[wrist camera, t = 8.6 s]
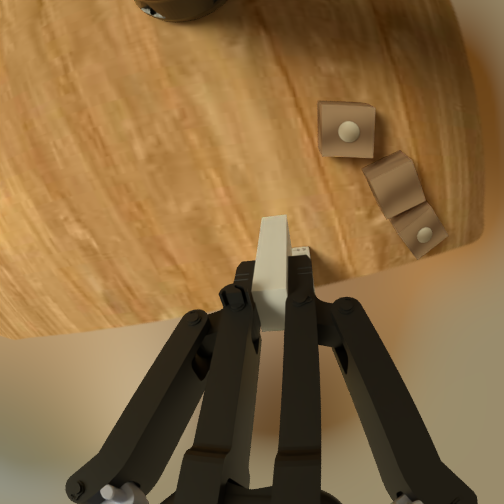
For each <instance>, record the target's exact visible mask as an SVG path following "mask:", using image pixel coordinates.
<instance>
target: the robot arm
mask: <svg viewBox="0 0 504 504" xmlns="http://www.w3.org/2000/svg"><path fill="white" fill-rule="evenodd" d="M134 1H135V3H136V4H137V6H138V7H139V8H140V9H141V10H142V11H144V12H145V13H146V14H148V15H150V16H152V17H154V18H158V19H161V20H164V21H169V22H185V21H191V20H195V19H198V18H201V17H203V16H206V15H208V14H210V13H212V12H213V11H215V10H216V9H218V8H219V7H221V6H222V5H223V4H224V3H225V2H226V1H227V0H134ZM235 275H236V276H235V279H234V283H233V284H229V285H227V286H225V287H224V288H223V289H221V291H220V292H219V296H220V299H221V302H222V304H223V309H221V310H220V311H217V312H214V313H211V314H208V315H207V313H206V312H205V311H203V310H192V311H189V312H188V313H186V314H185V315H184V316H183V317H182V319H181V320H180V322H179V324H178V325H177V327H176V328H175V330H174V331H173V333H172V334H171V336H170V338H169V339H168V341H167V342H166V344H165V345H164V347H163V349H162V350H161V352H160V353H159V355H158V357H157V358H156V360H155V361H154V363H153V365H152V366H151V368H150V369H149V371H148V372H147V374H146V376H145V377H144V379H143V380H142V382H141V384H140V385H139V387H138V389H137V390H136V392H135V393H134V395H133V397H132V398H131V400H130V402H129V403H128V405H127V406H126V408H125V410H124V411H123V413H122V415H121V417H120V418H119V420H118V421H117V423H116V425H115V426H114V428H113V430H112V431H111V433H110V435H109V436H108V438H107V440H106V441H105V443H104V445H103V446H102V448H101V450H100V451H99V453H98V454H97V455H96V456H94V457H93V458H92V459H91V460H90V461H89V462H87V463H86V464H85V465H84V466H83V467H81V468H80V469H79V470H78V471H77V472H75V473H74V474H73V475H72V476H70V478H69V479H68V480H67V483H66V493H67V495H68V497H69V499H70V500H71V501H73V502H75V503H77V504H149V502H148V500H147V499H146V495H147V494H148V493H149V492H150V491H151V490H152V488H153V487H154V486H155V484H156V483H157V481H158V480H159V478H160V476H161V475H162V473H163V471H164V469H165V467H166V465H167V463H168V461H169V460H170V458H171V456H172V454H173V452H174V450H175V448H176V446H177V444H178V442H179V440H180V438H181V436H182V434H183V432H184V430H185V428H186V426H187V424H188V422H189V420H190V418H191V416H192V415H193V413H194V410H195V408H196V406H197V404H198V403H199V401H200V399H201V397H202V394H203V392H204V391H205V392H204V396H203V401H202V406H201V410H200V415H199V419H198V424H197V429H196V434H195V438H194V443H193V446H192V447H191V448H190V449H188V450H187V451H186V453H185V454H184V457H183V460H182V465H181V470H180V474H179V479H178V484H177V489H176V491H175V492H174V493H173V494H171V495H170V496H169V497H168V498H166V499H165V500H164V501H163V502H161V503H160V504H342V503H341V502H340V501H339V500H338V499H337V498H335V497H334V496H333V495H331V494H329V493H327V492H325V491H323V490H321V400H320V399H321V398H320V372H319V352H318V345H323V346H329V347H332V350H333V352H334V355H335V357H336V360H337V362H338V365H339V367H340V370H341V372H342V375H343V377H344V379H345V382H346V385H347V387H348V390H349V392H350V395H351V397H352V400H353V402H354V405H355V408H356V410H357V413H358V415H359V418H360V421H361V423H362V426H363V428H364V431H365V434H366V437H367V439H368V442H369V445H370V447H371V450H372V453H373V456H374V459H375V461H376V464H377V467H378V470H379V473H380V476H381V478H382V481H383V483H384V486H385V488H386V490H387V492H388V494H389V495H390V497H391V498H392V500H393V502H392V503H391V504H478V503H477V496H476V495H475V493H474V491H472V490H471V489H470V488H469V487H468V486H467V485H466V484H465V483H464V482H463V481H462V480H461V479H460V478H458V477H457V476H456V475H455V474H454V473H453V472H452V471H451V470H450V469H449V468H448V467H447V466H446V465H445V464H444V463H443V462H441V460H440V458H439V456H438V453H437V451H436V448H435V446H434V444H433V442H432V440H431V437H430V435H429V433H428V431H427V429H426V427H425V424H424V422H423V420H422V418H421V416H420V414H419V412H418V410H417V408H416V405H415V404H414V402H413V399H412V397H411V395H410V393H409V391H408V389H407V387H406V386H405V384H404V382H403V380H402V378H401V376H400V374H399V372H398V370H397V368H396V367H395V364H394V362H393V361H392V359H391V357H390V355H389V353H388V351H387V350H386V348H385V346H384V344H383V342H382V340H381V339H380V337H379V335H378V333H377V331H376V330H375V328H374V326H373V324H372V323H371V321H370V319H369V317H368V316H367V314H366V312H365V310H364V309H363V307H362V305H361V304H360V302H358V300H356V299H354V298H351V297H343V298H339V299H338V300H336V301H335V302H334V303H327V302H323V301H321V300H319V299H318V298H317V297H316V295H315V293H314V284H313V274H312V264H311V259H310V258H309V257H308V255H307V254H305V255H296V256H292V248H291V241H290V235H289V228H288V222H287V216H286V215H278V216H270V217H262V221H261V228H260V235H259V242H258V248H257V255H256V260H254V261H244V262H241V263H240V265H239V266H238V267H237V270H236V274H235ZM260 327H261V329H262V332H265V331H281V330H284V356H283V357H284V358H283V380H282V398H281V415H280V431H279V446H278V453H277V455H276V458H275V464H274V475H273V486H270V487H265V488H259V489H252V490H251V489H249V483H250V474H249V468H248V467H249V456H250V448H251V447H250V446H251V439H252V430H253V421H254V411H255V402H256V392H257V382H258V372H259V362H260V351H261V341H262V340H261V335H260Z"/></svg>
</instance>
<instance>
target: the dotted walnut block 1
mask: <svg viewBox="0 0 504 504" xmlns="http://www.w3.org/2000/svg"><path fill="white" fill-rule="evenodd" d="M317 110H318V148H319V151H320V153H321V155H322V156H323V157H358V158H373V151H374V134H375V107H373V106H371V105H369V104H366V103H358V102H342V101H317Z"/></svg>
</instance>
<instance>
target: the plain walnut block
mask: <svg viewBox="0 0 504 504" xmlns="http://www.w3.org/2000/svg"><path fill="white" fill-rule="evenodd" d="M362 171H363V173H364V175H365V177H366V179H367V181H368V183H369V186H370V188H371V190H372V192H373V195H374V197H375V199H376V201H377V204H378V206H379V207H380V209H381V211H382V213H383V214H384V216H385V218H386V219H389V218H391V217H393V216H395V215H397V214H399V213H402V212H404V211H406V210H408V209H410V208H412V207H414V206H416V205H418V204H420V203H422V202H424V201H426V200H425V196H424V193H423V190H422V187H421V184H420V181H419V178H418V175H417V172H416V169H415V167H414V164H413V161H412V160H411V159H410V158H409V157H408V156H407V155H405V154H404V153H403V152H402V151H401V150H399V151H397V152H395V153H393V154H391V155H389V156H387V157H385V158H383V159H380V160H378V161H376V162H374V163H372V164H370V165H368V166H366V167H364V168H362Z"/></svg>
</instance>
